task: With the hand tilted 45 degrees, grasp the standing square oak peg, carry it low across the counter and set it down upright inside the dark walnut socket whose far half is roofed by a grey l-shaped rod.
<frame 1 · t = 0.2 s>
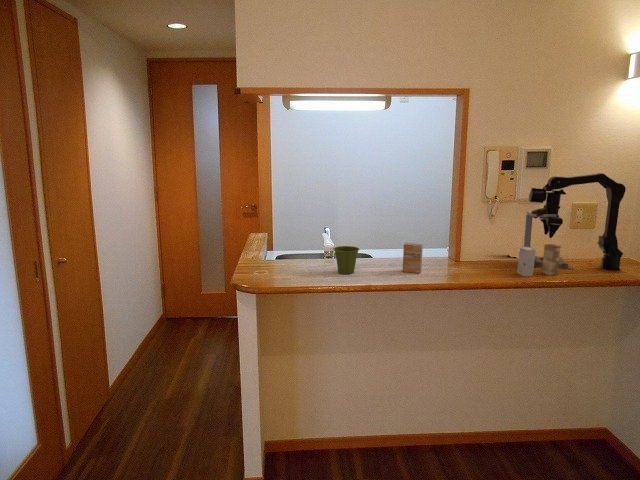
hand: (548, 236, 215), 14 cm above the table, tool pointing down, fingers open, 9 cm apart
plant pot: (346, 273, 207), on the table
peg: (549, 273, 203), on the table
skincare box: (525, 275, 202), on the table
socket: (549, 264, 219), on the table
grey l-shaped rod: (525, 263, 222), resting in socket
supplement box: (412, 272, 208), on the table
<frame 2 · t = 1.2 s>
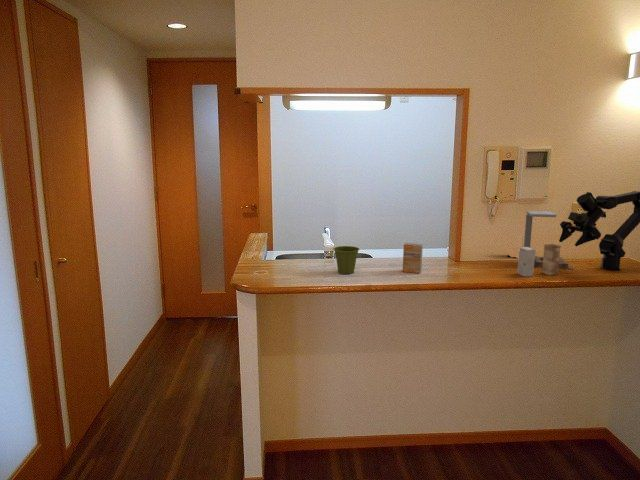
hand: (567, 243, 203), 13 cm above the table, tool tilted 45°, fingers open, 9 cm apart
nothing on the table moved.
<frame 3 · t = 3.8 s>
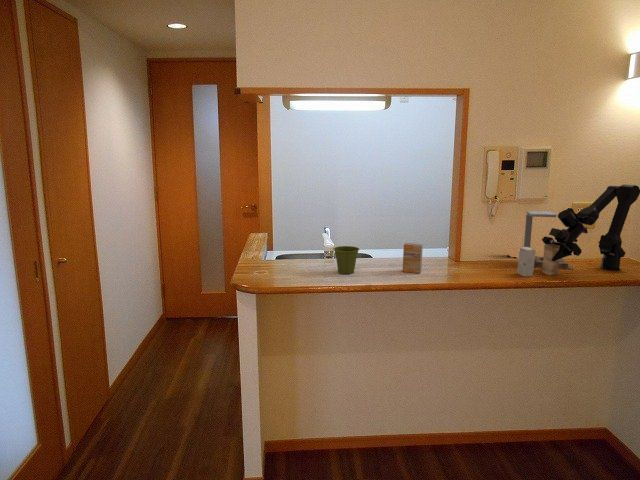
hand: (548, 259, 202), 7 cm above the table, tool tilted 45°, fingers closed on peg, 4 cm apart
peg: (549, 273, 203), on the table, touching gripper
everything else where it was.
when the fingers open (9 cm above the table, at t = 8.1 s): peg drops 2 cm, resting on socket.
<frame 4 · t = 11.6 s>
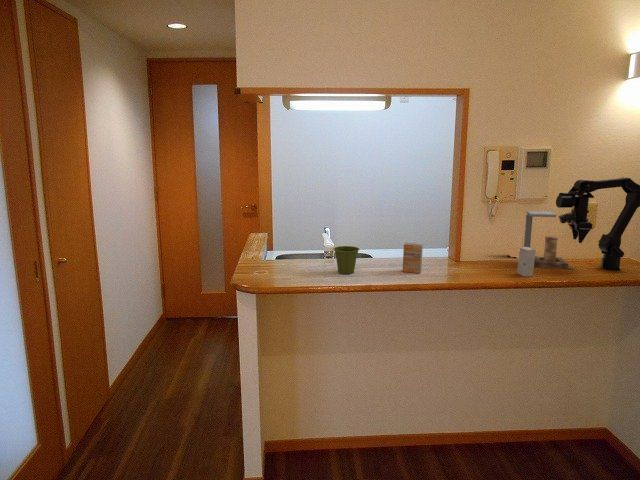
hand: (577, 241, 210), 13 cm above the table, tool pointing down, fingers open, 9 cm apart
peg: (549, 263, 219), resting on socket
everything else where it was.
at the end: peg inside the target area on the socket (0.0 cm from its centre), point 0.5 cm above the socket's base; peg tilted 0°; the gripper is holding nothing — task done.
